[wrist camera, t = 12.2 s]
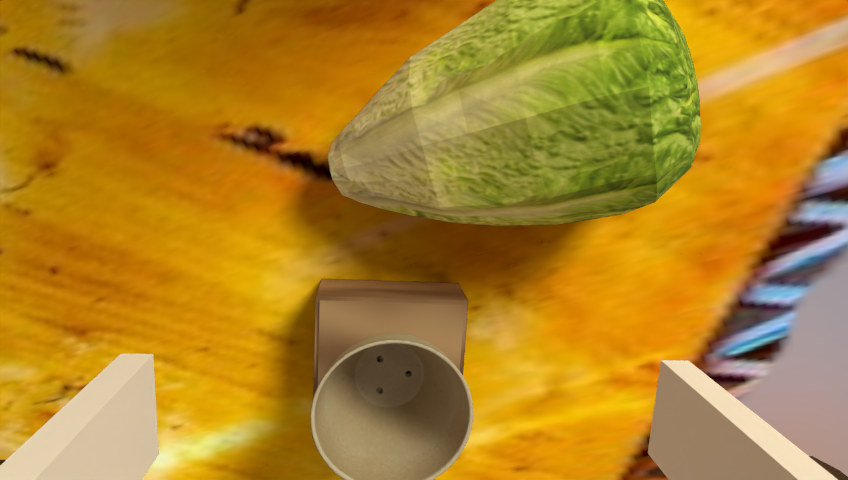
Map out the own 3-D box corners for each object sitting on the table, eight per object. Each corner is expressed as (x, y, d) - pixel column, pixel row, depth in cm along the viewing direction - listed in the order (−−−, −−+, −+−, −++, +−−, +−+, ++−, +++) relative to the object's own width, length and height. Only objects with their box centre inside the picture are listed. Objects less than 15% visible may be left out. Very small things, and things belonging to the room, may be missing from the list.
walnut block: (321, 278, 46) (315, 296, 41) (458, 283, 47) (468, 301, 42) (318, 407, 48) (312, 439, 43) (449, 408, 49) (458, 440, 44)
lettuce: (396, 247, 51) (359, 69, 50) (694, 193, 43) (658, -18, 42) (319, 278, 37) (266, 31, 36) (740, 206, 29) (687, -108, 28)
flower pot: (468, 417, 43) (486, 472, 36) (337, 446, 43) (330, 507, 36) (443, 292, 42) (457, 325, 35) (306, 321, 41) (293, 360, 34)
